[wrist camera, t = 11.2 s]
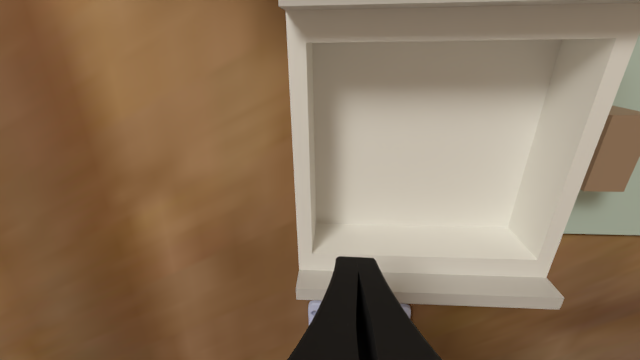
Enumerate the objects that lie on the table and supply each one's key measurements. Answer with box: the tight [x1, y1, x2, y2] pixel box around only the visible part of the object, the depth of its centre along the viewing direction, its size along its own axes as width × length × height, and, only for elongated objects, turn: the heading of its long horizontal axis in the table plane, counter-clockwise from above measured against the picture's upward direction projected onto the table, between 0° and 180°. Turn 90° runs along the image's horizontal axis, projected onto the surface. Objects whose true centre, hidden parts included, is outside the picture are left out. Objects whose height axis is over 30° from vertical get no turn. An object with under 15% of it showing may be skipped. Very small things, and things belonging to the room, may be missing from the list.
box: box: [278, 0, 640, 309], centre depth 16 cm, size 15×14×6 cm
